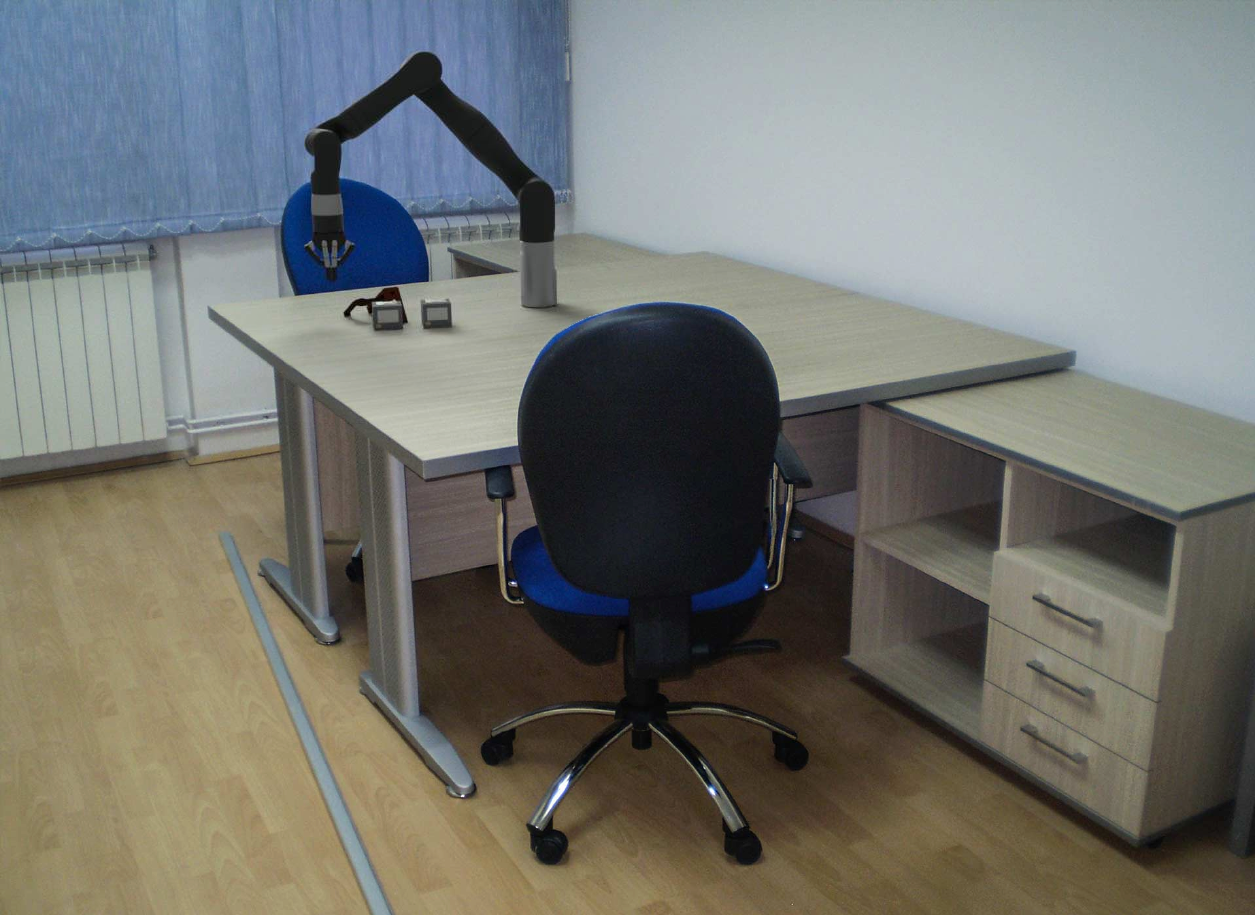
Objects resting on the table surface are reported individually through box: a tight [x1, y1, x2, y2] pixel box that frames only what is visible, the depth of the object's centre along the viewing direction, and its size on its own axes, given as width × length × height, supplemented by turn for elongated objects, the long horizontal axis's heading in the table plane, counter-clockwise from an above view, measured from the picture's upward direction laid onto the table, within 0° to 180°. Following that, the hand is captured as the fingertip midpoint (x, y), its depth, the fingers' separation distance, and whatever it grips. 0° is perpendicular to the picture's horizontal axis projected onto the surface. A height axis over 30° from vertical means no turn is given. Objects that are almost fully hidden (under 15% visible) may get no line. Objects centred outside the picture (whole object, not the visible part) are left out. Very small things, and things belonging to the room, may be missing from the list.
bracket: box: [343, 286, 409, 325], centre depth 324 cm, size 10×14×10 cm
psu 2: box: [420, 298, 453, 329], centre depth 317 cm, size 7×6×6 cm
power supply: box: [371, 300, 404, 332], centre depth 314 cm, size 7×6×6 cm
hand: (332, 281), depth 320 cm, fingers closed
